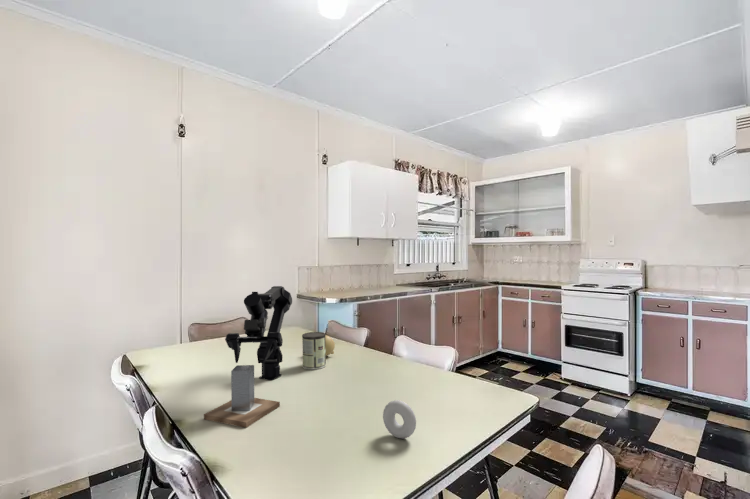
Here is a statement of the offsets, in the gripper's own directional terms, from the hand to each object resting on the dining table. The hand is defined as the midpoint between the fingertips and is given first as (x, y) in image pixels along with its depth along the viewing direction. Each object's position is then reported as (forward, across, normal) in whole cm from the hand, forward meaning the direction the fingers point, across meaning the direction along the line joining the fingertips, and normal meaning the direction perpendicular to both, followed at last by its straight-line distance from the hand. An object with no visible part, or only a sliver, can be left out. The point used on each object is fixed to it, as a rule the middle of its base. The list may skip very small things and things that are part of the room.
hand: (250, 361), depth 128 cm
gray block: (+14, 0, +3) cm, 14 cm away
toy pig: (-28, +20, +48) cm, 59 cm away
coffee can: (-18, +17, +38) cm, 45 cm away
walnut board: (+15, 0, +4) cm, 16 cm away
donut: (+30, +47, -10) cm, 56 cm away
